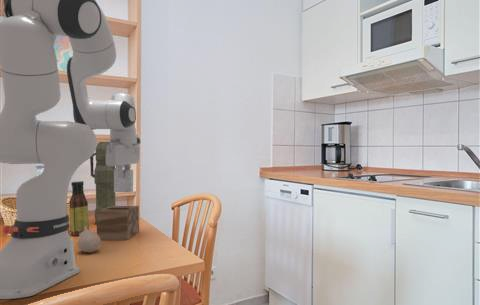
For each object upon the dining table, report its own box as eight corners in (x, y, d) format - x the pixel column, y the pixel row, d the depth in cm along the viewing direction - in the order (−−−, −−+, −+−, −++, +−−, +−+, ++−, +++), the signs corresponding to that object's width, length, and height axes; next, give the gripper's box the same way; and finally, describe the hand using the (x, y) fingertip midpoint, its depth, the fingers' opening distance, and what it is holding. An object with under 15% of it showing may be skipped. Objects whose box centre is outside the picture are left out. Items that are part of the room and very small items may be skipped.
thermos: (91, 221, 143) (90, 142, 143) (120, 219, 148) (119, 142, 147) (90, 226, 135) (89, 141, 135) (120, 223, 139) (119, 141, 139)
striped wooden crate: (127, 239, 114) (127, 211, 114) (96, 239, 114) (96, 211, 114) (139, 232, 125) (138, 205, 125) (111, 231, 125) (110, 205, 125)
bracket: (130, 192, 117) (130, 170, 116) (114, 192, 117) (114, 169, 117) (133, 191, 119) (133, 169, 119) (117, 191, 120) (117, 169, 119)
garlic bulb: (101, 247, 105) (100, 223, 105) (100, 253, 99) (100, 227, 99) (78, 250, 102) (78, 225, 102) (76, 256, 96) (75, 229, 96)
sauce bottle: (92, 232, 125) (91, 180, 125) (83, 236, 119) (82, 182, 119) (76, 231, 126) (75, 180, 126) (66, 236, 120) (65, 182, 120)
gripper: (118, 138, 107) (119, 180, 107) (142, 139, 128) (142, 175, 128) (100, 138, 108) (100, 180, 108) (126, 139, 128) (127, 174, 128)
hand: (123, 177), depth 118 cm, fingers closed on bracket, 2 cm apart
